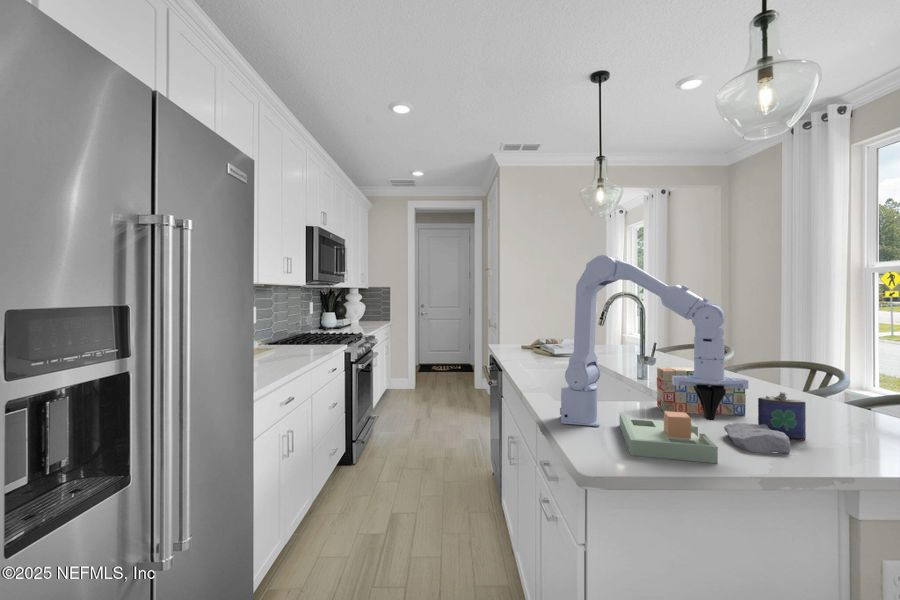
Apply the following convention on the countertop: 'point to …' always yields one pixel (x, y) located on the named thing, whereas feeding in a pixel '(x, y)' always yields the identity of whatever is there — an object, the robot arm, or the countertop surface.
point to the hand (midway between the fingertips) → (709, 419)
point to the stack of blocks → (693, 394)
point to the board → (666, 441)
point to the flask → (783, 415)
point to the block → (677, 424)
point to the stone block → (758, 438)
